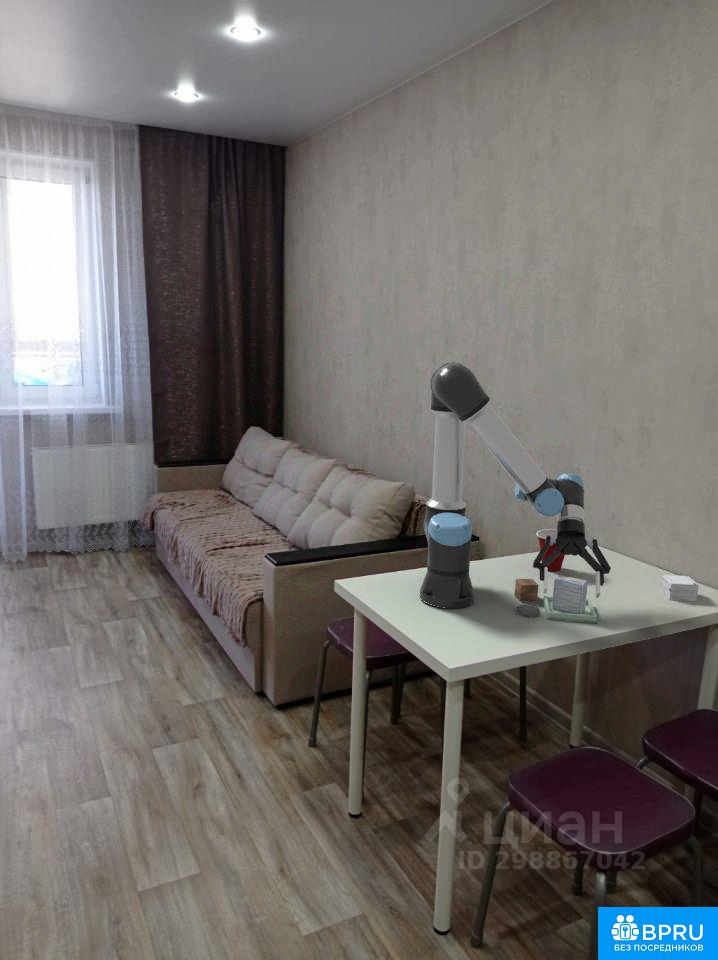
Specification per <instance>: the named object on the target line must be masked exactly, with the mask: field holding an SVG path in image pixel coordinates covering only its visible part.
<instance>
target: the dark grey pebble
mask: <svg viewBox="0 0 718 960" xmlns="http://www.w3.org/2000/svg"><path fill="white" fill-rule="evenodd" d="M516 614H517V615H518V616H522V617H524V618H536V617H538V616H540V608H539V607H538V606H535V605H531V604H519V605H517V606H516Z"/></svg>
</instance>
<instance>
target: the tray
mask: <svg viewBox="0 0 718 960" xmlns="http://www.w3.org/2000/svg"><path fill="white" fill-rule="evenodd" d="M542 599H543V601H542V602H543V607H544V611H545V617H546V620H553V621H565V622H577V623H585V624H586V623H587V622H588V623H587V624H597V622H598V615H597V613H596V611H595V607H594V606H593V603H592V600H591V599H588V598H586V608H585V611H584V612H583V613H582V614H574V613H569V612H565V611H560V610H556V609H552V603H553V595H552V596H551V595H543V598H542Z"/></svg>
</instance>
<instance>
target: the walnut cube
mask: <svg viewBox="0 0 718 960" xmlns="http://www.w3.org/2000/svg"><path fill="white" fill-rule="evenodd" d="M514 584H515V585H514V597H515V598H516V599H517V600H518V602H520V603H522V602H523V603H526V602H529V603H530V602H531V603H533V602H535V603H537V602H538V597H539V595H538V594H539V583H538V582H536V580H534V579H533V578H515V583H514ZM525 601H526V602H525Z"/></svg>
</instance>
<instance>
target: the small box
mask: <svg viewBox="0 0 718 960" xmlns="http://www.w3.org/2000/svg"><path fill="white" fill-rule="evenodd" d="M660 591H661V592H662V593H663V594H664V595H665V596H666V597H667V598H668V599H669V601H670V600H671V601H685V602H687V601H688V602H697V601H698V596H699V595H698V593H699V584H697V582H696V580H694V579H693V578H692V577H690V576H688V575H671V574H669V575H668V574H667V575H666V574H664V575H663V574H662V581H661V590H660Z"/></svg>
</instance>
